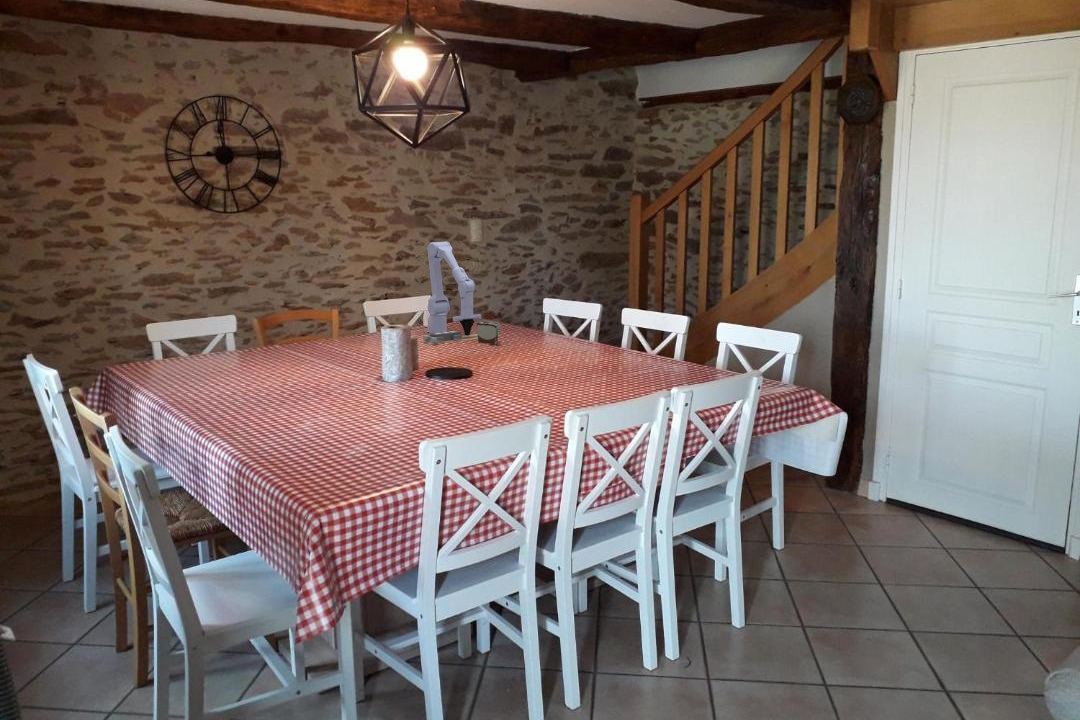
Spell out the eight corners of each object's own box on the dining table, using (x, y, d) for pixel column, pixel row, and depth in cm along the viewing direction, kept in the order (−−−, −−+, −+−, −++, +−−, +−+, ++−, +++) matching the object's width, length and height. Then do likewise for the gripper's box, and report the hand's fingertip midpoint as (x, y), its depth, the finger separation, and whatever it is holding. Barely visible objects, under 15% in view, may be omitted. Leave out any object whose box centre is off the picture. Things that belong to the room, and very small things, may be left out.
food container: (505, 343, 380) (505, 322, 378) (497, 346, 375) (497, 324, 373) (483, 341, 386) (483, 319, 384) (475, 343, 381) (475, 321, 379)
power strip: (430, 341, 382) (429, 333, 381) (455, 337, 390) (455, 330, 390) (435, 342, 378) (435, 334, 378) (461, 339, 387) (461, 331, 386)
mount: (421, 342, 382) (420, 335, 381) (480, 334, 402) (480, 328, 402) (432, 345, 374) (432, 338, 374) (492, 337, 395) (492, 331, 394)
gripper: (458, 308, 381) (458, 338, 384) (484, 306, 390) (484, 334, 393) (450, 307, 386) (450, 335, 389) (476, 304, 395) (476, 332, 398)
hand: (467, 335), depth 391 cm, fingers closed
